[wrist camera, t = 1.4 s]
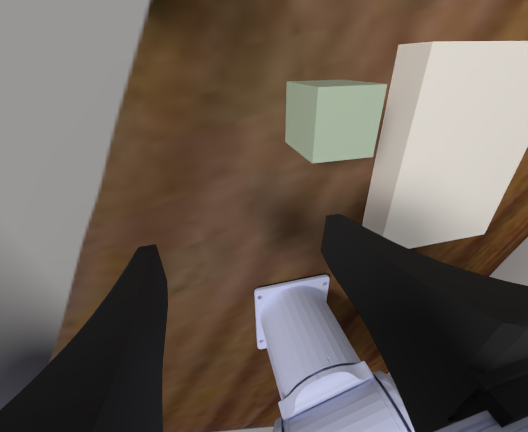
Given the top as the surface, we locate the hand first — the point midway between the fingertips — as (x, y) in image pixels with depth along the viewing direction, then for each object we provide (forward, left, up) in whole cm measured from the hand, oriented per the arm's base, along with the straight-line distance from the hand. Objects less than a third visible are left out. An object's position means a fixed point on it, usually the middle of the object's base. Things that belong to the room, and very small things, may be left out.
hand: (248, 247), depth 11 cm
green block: (+4, -7, -10) cm, 12 cm away
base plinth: (0, -19, -10) cm, 21 cm away
